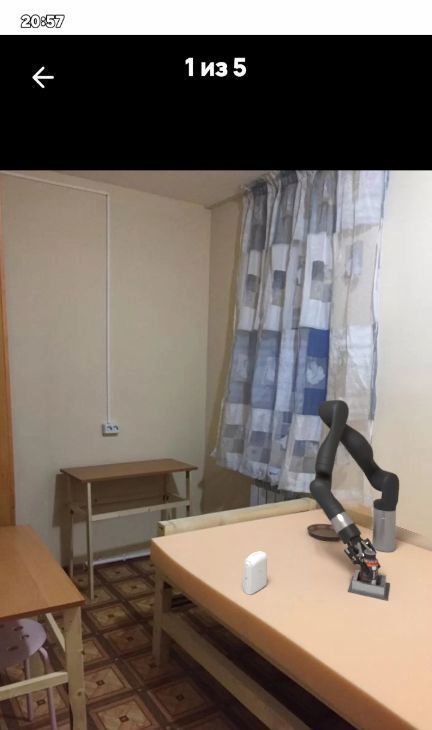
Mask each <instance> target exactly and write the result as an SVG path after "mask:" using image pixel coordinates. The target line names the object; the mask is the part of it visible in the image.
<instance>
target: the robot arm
mask: <svg viewBox="0 0 432 730" xmlns="http://www.w3.org/2000/svg"><path fill="white" fill-rule="evenodd" d="M349 410H350V409H349V405H348V404H347V402H346V401H344V400H341V399H335V400H333V399H332V400H323V401H322V402H320V403H319V405H318V407H317V412H318V416H319V418H320V419H321V421H322V422H323V423H324V424H325V425H326V427H327V428H328V429H329V431H328V433H327V435H326V437H325V438H324V440H323V441H322V443H321V444H320V446H319V448H318V451H317V454H316V459H315V464H314V471H315V474H314V475H315V477H314V479H312V480H311V481H310V483H309V492H310V494H311V496H312V497H313V499H314V500H315V502H317V504H318V505H319V506H320V508H321V509H322V511H323V513H324V514H325V516H326V517H327V519H328V520H329V522H330V523H331V524H330V525H332V526H333V528H334V530H335V531H336V533H337V534H338V536H339V537H340V539H341V540H340V541H341V542H342V543H343V545H347V547H345V548H344V550H343V552H344V553H345V554H346V556H347V557H348V558H349V559H350V561H351V562H352V564H353V565H355V566H356V565H358V566H360V569H361V568H362V570H363V571H364V573H365V574H366V575H368V574H370V573H371V570H370V569H369V567H368V566H367V564H366V562H364V559H363V556H364V551H366V550H370V551H374V552H375V553H376V554H377V551H379V552H384V553H391V552H394V551H395V550H396V529H397V528H396V527H397V526H396V525H397V524H396V523H397V521H396V520H397V505H398V503H399V495H400V494H399V493H400V479H399V476H398V475H397V474H396V473H394V472H390V471H388V470H384V469H382V468H381V467H380V466H379V464H378V463H377V462H376V461H375V459H374V449H373V447H372V445H371V443H369V441H368V440H367V438H366V437H365V436H364V435H363V434H362V433H361V432H359V431H358V430H356V429H355V428H353V427H352V426H350V425H349V424H347V422H348V419H349V413H350V411H349ZM340 443H341V444H342V446H344V449H345V450H346V451H347V453H348V454H349V455H350V456H351V458H352V460H354V461H355V462H356V464H357V465H358V467H359V468H360V470H362V472H363V474H364V476H365V477H366V479H367V481H368V482H369V484H370V485H371V487H372V489H374V490H375V491H378V492H380V493H381V495H380V498H377V499H374V500H373V508H372V509H373V511H372V514H373V515H372V517H373V518H372V539H371V540H372V541H371V540H370V539H369V538H368V537H367V538H365V539H363V538H362V537H361V535H362V532H361V531H360V529H359V527H358V526H357V524H356V523H355V522H354V520H353V518H352V517H351V515H349V513H348V512H347V511H346V509H345V507H344V506H343V505H342V504H341V502H340V501H339V500H338V499H337V498H336V497H335V495H334V494H333V492H332V484H333V483H332V482H333V471H334V467H335V466H334V465H335V460H336V455H337V450H338V447H339V444H340ZM376 550H377V551H376ZM381 567H382V566H381V564H380V562H378V570H379V569H380V568H381Z"/></svg>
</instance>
